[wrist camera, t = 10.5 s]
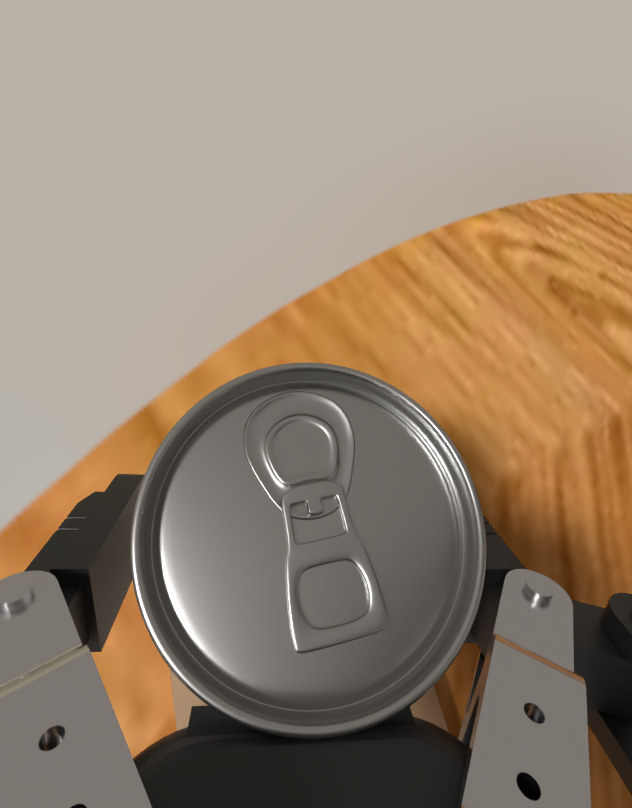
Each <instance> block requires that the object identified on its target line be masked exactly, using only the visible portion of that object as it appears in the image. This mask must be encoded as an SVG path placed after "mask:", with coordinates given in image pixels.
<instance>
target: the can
mask: <svg viewBox="0 0 632 808" xmlns="http://www.w3.org/2000/svg"><path fill="white" fill-rule="evenodd" d="M130 558H131V570H132V578H133V584H134V590H135V594H136V598H137V602H138V605H139V609H140V612H141V615H142V618H143V620H144V623H145V625H146V628H147V630H148V632H149V634H150V636H151V638H152V641H153V642H154V644H155V646H156V648H157V650H158V651H159V653H160V655H161V656H162V658H163V659H164V661H165V662H166V664H167V665H168V667H169V668H170V669H171V670H172V672H173V673H174V674H175V675H176V677H177V678H178V679H179V680H180V681H181V682H182V683H183V684H184V685H185V686H186V687H187V688H188V689H189V690H190V691H191V692H192V693H193V694H194V695H196V696H197V697H198V698H199V699H201V700H202V701H203V702H204V703H206V704H207V705H209V706H210V707H211V708H213V709H214V710H216V711H217V712H219V713H221V714H222V715H224V716H226V717H228V718H229V719H231V720H233V721H235V722H237V723H239V724H242V725H244V726H247V727H249V728H252V729H255V730H258V731H261V732H264V733H268V734H272V735H277V736H282V737H289V738H300V739H320V738H331V737H338V736H343V735H348V734H352V733H356V732H359V731H362V730H365V729H368V728H371V727H373V726H376V725H378V724H380V723H382V722H384V721H386V720H388V719H390V718H392V717H394V716H396V715H397V714H399V713H401V712H402V711H404V710H405V709H407V708H408V707H409V706H411V705H412V704H413V703H415V702H416V701H417V700H419V699H420V698H421V697H422V696H423V695H424V694H425V693H427V692H428V691H429V690H430V689H431V688H432V687H433V686H434V685H435V683H436V682H437V681H438V680H439V679H440V678H441V677H442V676H443V674H444V673H445V672H446V671H447V669H448V668H449V667H450V665H451V664H452V662H453V661H454V659H455V658H456V656H457V655H458V653H459V651H460V650H461V648H462V646H463V644H464V642H465V640H466V639H467V636H468V634H469V632H470V630H471V627H472V625H473V622H474V620H475V617H476V614H477V611H478V607H479V604H480V600H481V596H482V591H483V586H484V579H485V570H486V535H485V526H484V519H483V514H482V509H481V505H480V501H479V497H478V494H477V491H476V488H475V485H474V482H473V480H472V477H471V475H470V473H469V470H468V468H467V466H466V464H465V462H464V460H463V458H462V456H461V455H460V453H459V451H458V450H457V448H456V446H455V445H454V443H453V442H452V440H451V439H450V438H449V436H448V435H447V434H446V432H445V431H444V430H443V428H442V427H441V426H440V425H439V424H438V423H437V421H436V420H435V419H434V418H433V417H432V416H431V415H430V414H429V413H428V412H427V411H426V410H425V409H423V408H422V407H421V406H420V405H419V404H418V403H417V402H415V401H414V400H413V399H411V398H410V397H409V396H407V395H406V394H405V393H403V392H402V391H400V390H398V389H397V388H395V387H394V386H392V385H390V384H388V383H386V382H384V381H382V380H380V379H378V378H376V377H374V376H371V375H369V374H366V373H363V372H360V371H357V370H354V369H351V368H347V367H342V366H337V365H331V364H323V363H291V364H283V365H276V366H271V367H267V368H263V369H260V370H256V371H253V372H250V373H248V374H245V375H242V376H240V377H238V378H236V379H233V380H231V381H229V382H227V383H226V384H224V385H222V386H220V387H219V388H217V389H215V390H214V391H212V392H211V393H209V394H208V395H207V396H205V397H204V398H203V399H201V400H200V401H199V402H198V403H196V404H195V405H194V406H193V407H192V408H191V409H190V410H189V411H188V412H187V413H186V414H185V415H184V416H183V417H182V418H181V419H180V420H179V421H178V422H177V423H176V424H175V426H174V427H173V428H172V429H171V430H170V432H169V433H168V434H167V436H166V437H165V439H164V440H163V442H162V443H161V445H160V446H159V448H158V449H157V451H156V453H155V455H154V457H153V458H152V460H151V462H150V464H149V466H148V469H147V471H146V473H145V476H144V478H143V481H142V484H141V487H140V490H139V493H138V496H137V500H136V504H135V509H134V514H133V520H132V527H131V541H130Z"/></svg>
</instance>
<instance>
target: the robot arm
mask: <svg viewBox="0 0 632 808" xmlns="http://www.w3.org/2000/svg"><path fill="white" fill-rule="evenodd" d="M144 476H145V475H136V474H118V475H116V477H115V478H114V479H113V481H112V482H111V484H110V485H109V486H108V488H107V489H106V491H105V492H94V493H92V494H91V495H89V496H88V497H86V498H85V499H83V500H82V501H80V502H79V503H78V504H77V505H76V506H75V507H74V509H73V510H72V511H71V513H70V514H69V515H68V516H67V519H65V520H64V521H63V523H62V524H61V525H60V527H59V529H58V531H56V532H55V533H54V534H53V535H52V537H51V538H50V539H49V541H48V542H47V543H46V544H45V546H44V547H43V548H42V549H41V551H40V552H39V553H38V555H37V556H36V557H35V558H34V560H33V561H32V562H31V564H30V565H29V566H28V567H27V569H26V570H25V571H24V572H21V573H17V574H14V575H11V576H9V577H6V578H4V579H2V580H0V808H591V791H590V768H589V744H588V724H589V726H590V728H591V729H592V731H593V732H594V734H595V736H596V737H597V739H598V741H599V742H600V744H601V746H602V747H603V749H604V751H605V752H606V754H607V755H608V757H609V759H610V760H611V762H612V764H613V765H614V767H615V769H616V770H617V772H618V773H619V775H620V777H621V778H622V780H623V782H624V783H625V785H626V787H627V788H628V790H629V791H630V793H631V795H632V594H627V593H618V594H614V595H613V596H612V597H611V598H610V600H609V602H608V604H607V606H606V608H601V607H597V606H593V605H589V604H585V603H581V602H577V601H573V600H571V599H570V597H569V595H568V594H567V593H566V591H565V590H564V589H563V588H562V587H561V586H560V585H558V584H557V583H556V582H554V581H553V580H551V579H550V578H548V577H546V576H544V575H542V574H540V573H538V572H535V571H531V570H527V569H525V568H524V566H523V565H522V564H521V563H520V561H519V560H518V559H517V558H516V556H515V555H514V554H513V552H512V551H511V550H510V549H509V547H508V546H507V545H506V544H505V542H504V541H503V540H502V538H501V537H500V536H499V535H497V532H496V531H495V530H494V528H493V527H492V526H491V525H489V522H488V521H487V519H486V518H485V517H484V516H483V519H484V526H485V535H486V570H485V579H484V586H483V591H482V596H481V600H480V604H479V607H478V611H477V614H476V617H475V620H474V622H473V625H472V627H471V630H470V632H469V634H468V636H467V639H466V640H465V642H464V643H477V644H478V646H479V648H480V650H481V651H480V654H479V657H478V660H477V664H476V668H475V672H474V676H473V680H472V684H471V689H470V693H469V697H468V701H467V705H466V710H465V714H464V718H463V722H462V726H461V730H460V733H459V737H458V738H456V737H455V736H453V735H452V734H450V733H449V732H447V731H446V730H444V729H442V728H440V727H438V726H437V725H435V724H433V723H430V722H428V721H425V720H423V719H420V718H417V717H413V715H412V712H411V708H410V706H409V707H408V708H407V709H405V710H404V711H402V712H401V713H399V714H397V715H396V716H394V717H392V718H390V719H388V720H386V721H384V722H382V723H380V724H378V725H376V726H373V727H371V728H368V729H365V730H362V731H359V732H356V733H352V734H348V735H343V736H338V737H331V738H320V739H300V738H289V737H282V736H277V735H272V734H268V733H264V732H261V731H258V730H255V729H252V728H249V727H247V726H244V725H242V724H239V723H237V722H235V721H233V720H231V719H229V718H228V717H226V716H224V715H222V714H221V713H219V712H217V711H216V710H214V709H213V708H211V707H210V706H209V705H207V706H192V708H191V713H190V719H189V724H188V727H186V728H183V729H181V730H178V731H176V732H174V733H172V734H170V735H168V736H165V737H163V738H162V739H160V740H159V741H157V742H155V743H154V744H152V745H150V746H149V747H148V748H146V749H145V750H144V751H142V752H141V753H140V754H138V755H137V756H136V757H134V758H132V756H131V753H130V751H129V748H128V745H127V743H126V740H125V738H124V735H123V733H122V730H121V728H120V725H119V723H118V720H117V718H116V715H115V713H114V710H113V708H112V705H111V703H110V700H109V698H108V695H107V692H106V690H105V687H104V685H103V682H102V680H101V677H100V675H99V672H98V670H97V667H96V665H95V662H94V660H93V657H92V655H91V652H101V651H102V648H103V646H104V644H105V641H106V639H107V637H108V635H109V632H110V630H111V628H112V625H113V623H114V621H115V619H116V616H117V614H118V612H119V609H120V607H121V605H122V602H123V600H124V598H125V596H126V593H127V591H128V589H129V586H130V584H131V582H132V579H133V578H132V570H131V558H130V541H131V527H132V520H133V514H134V509H135V504H136V500H137V496H138V493H139V490H140V487H141V484H142V481H143V478H144Z"/></svg>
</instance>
